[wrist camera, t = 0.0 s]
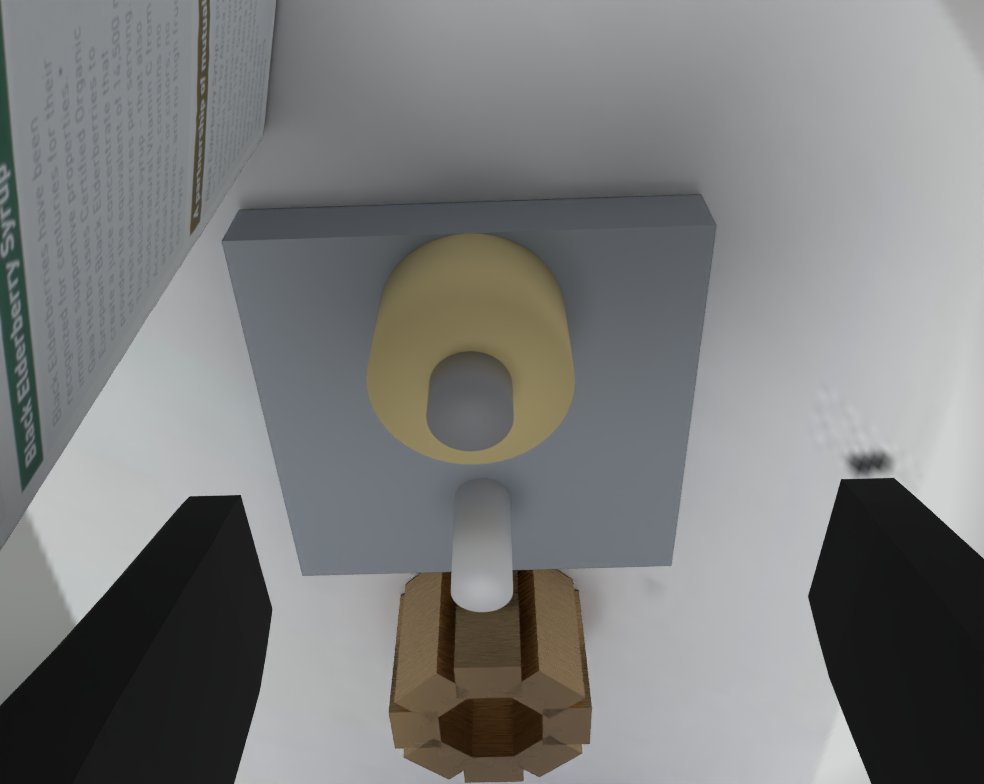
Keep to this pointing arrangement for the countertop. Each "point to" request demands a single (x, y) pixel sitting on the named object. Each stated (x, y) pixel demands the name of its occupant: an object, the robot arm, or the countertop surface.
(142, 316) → the syrup box
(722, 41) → the countertop surface
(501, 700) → the brown segmented ring
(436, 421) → the carrier plate
